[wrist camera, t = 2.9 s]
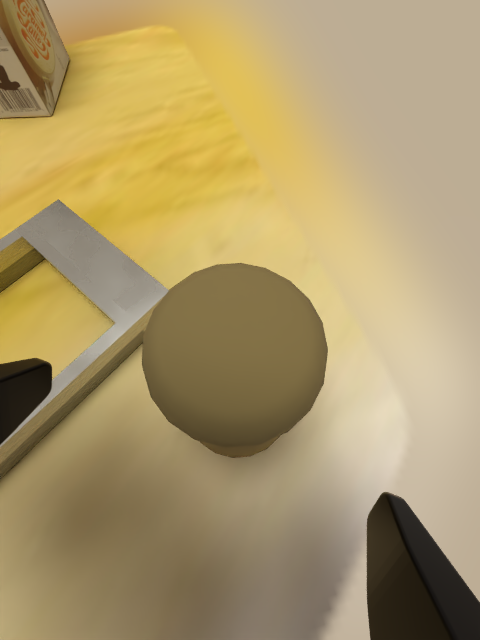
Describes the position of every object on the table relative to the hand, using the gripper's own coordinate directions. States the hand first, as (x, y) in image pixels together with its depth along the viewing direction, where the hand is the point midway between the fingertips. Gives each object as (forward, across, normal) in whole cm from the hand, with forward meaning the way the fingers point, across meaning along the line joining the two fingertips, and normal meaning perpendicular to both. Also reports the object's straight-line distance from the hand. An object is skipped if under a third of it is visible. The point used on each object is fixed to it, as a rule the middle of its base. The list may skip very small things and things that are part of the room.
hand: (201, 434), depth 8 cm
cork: (+8, 0, +5) cm, 10 cm away
